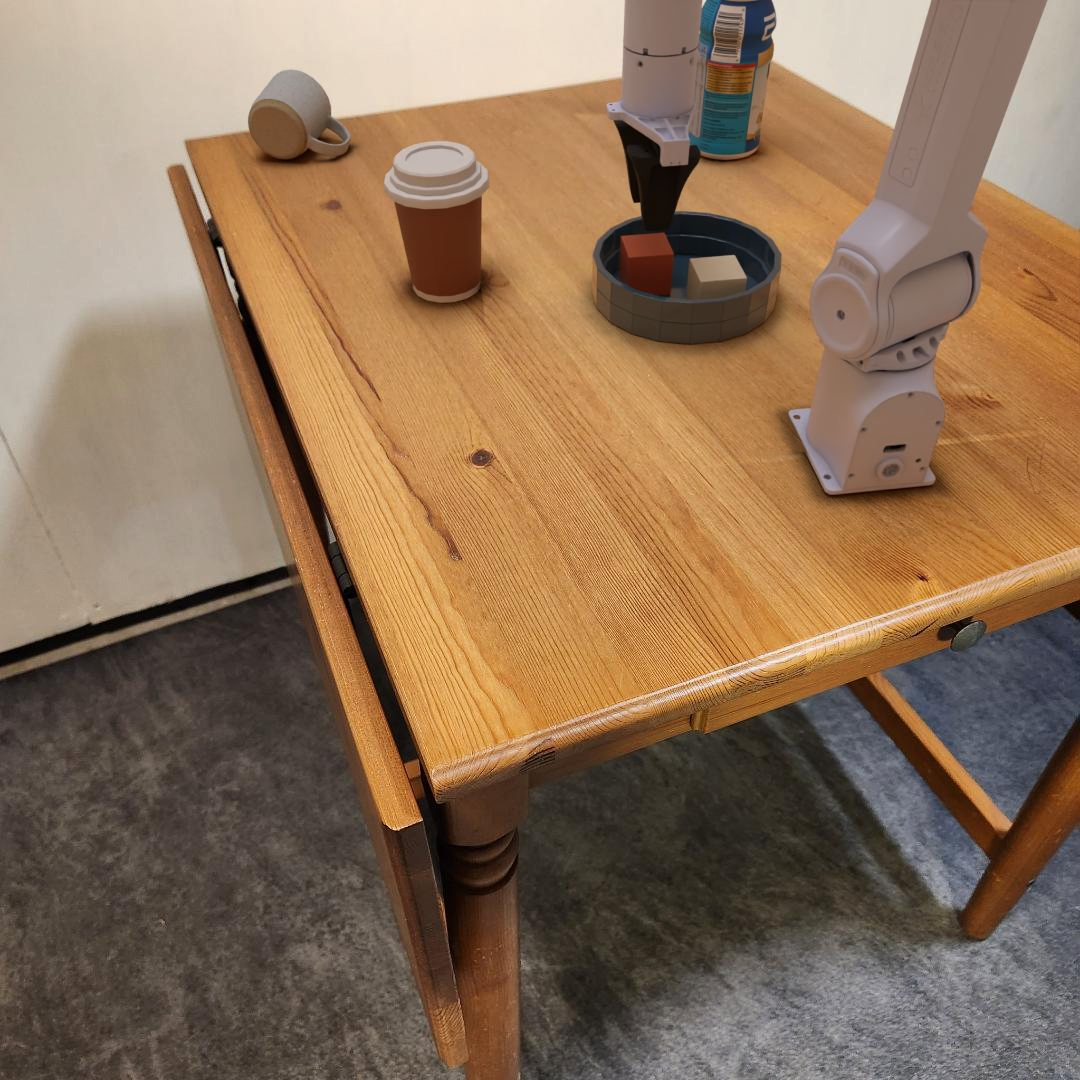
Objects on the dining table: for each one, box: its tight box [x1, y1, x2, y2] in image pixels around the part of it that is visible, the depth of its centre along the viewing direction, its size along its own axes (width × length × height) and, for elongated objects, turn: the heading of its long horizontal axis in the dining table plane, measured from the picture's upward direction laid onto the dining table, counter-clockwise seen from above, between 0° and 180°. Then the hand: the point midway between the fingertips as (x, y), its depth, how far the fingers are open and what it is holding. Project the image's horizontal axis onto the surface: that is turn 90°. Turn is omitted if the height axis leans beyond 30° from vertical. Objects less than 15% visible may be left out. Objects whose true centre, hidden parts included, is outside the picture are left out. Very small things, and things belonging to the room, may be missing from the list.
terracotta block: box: [619, 233, 674, 296], centre depth 85 cm, size 4×4×4 cm
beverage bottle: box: [688, 0, 777, 161], centre depth 102 cm, size 8×8×20 cm
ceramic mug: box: [247, 69, 352, 160], centre depth 108 cm, size 11×8×8 cm
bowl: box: [591, 210, 783, 345], centre depth 84 cm, size 16×16×4 cm
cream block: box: [686, 255, 747, 300], centre depth 81 cm, size 4×4×4 cm
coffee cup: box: [383, 140, 490, 304], centre depth 84 cm, size 9×9×12 cm
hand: (650, 214), depth 81 cm, fingers open, 5 cm apart
